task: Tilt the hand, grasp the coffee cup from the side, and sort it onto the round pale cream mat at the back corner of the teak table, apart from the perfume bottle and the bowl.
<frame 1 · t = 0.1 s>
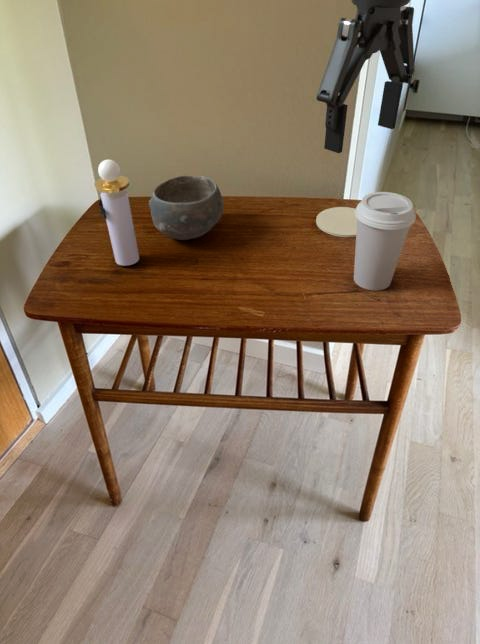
hand: (360, 138, 74), 24 cm above the table, tool pointing down, fingers open, 13 cm apart
coffee cup: (371, 280, 86), on the table
bowl: (189, 234, 100), on the table
perfume bottle: (128, 263, 92), on the table
cream mat: (344, 222, 102), on the table
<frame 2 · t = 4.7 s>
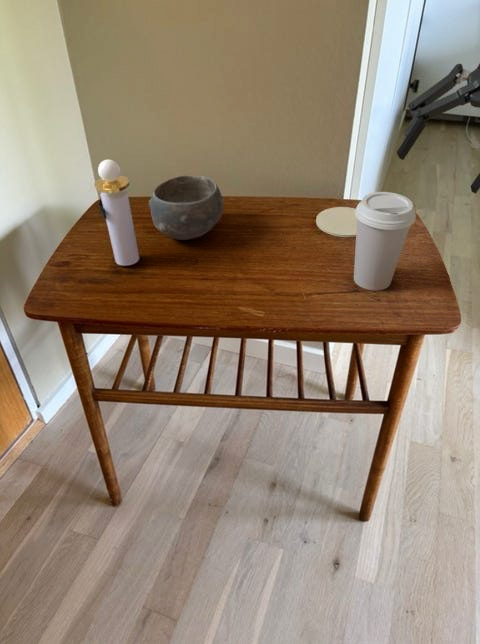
hand: (434, 172, 80), 17 cm above the table, tool tilted 40°, fingers open, 13 cm apart
nothing on the table moved.
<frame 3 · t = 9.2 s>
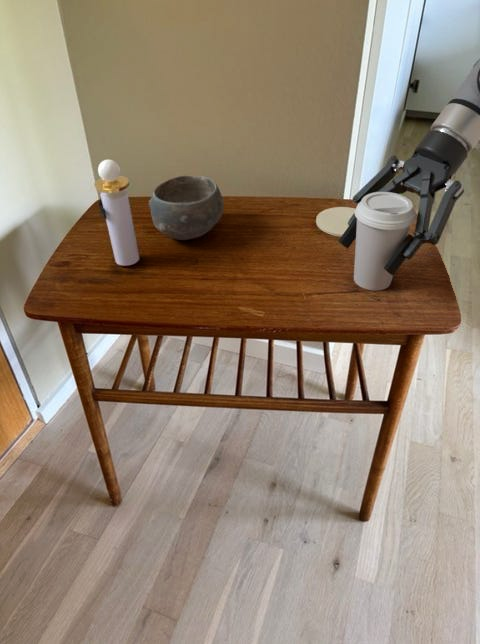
hand: (364, 257, 81), 6 cm above the table, tool tilted 45°, fingers closed on coffee cup, 9 cm apart
coffee cup: (371, 280, 86), on the table, touching gripper
everything else where it was.
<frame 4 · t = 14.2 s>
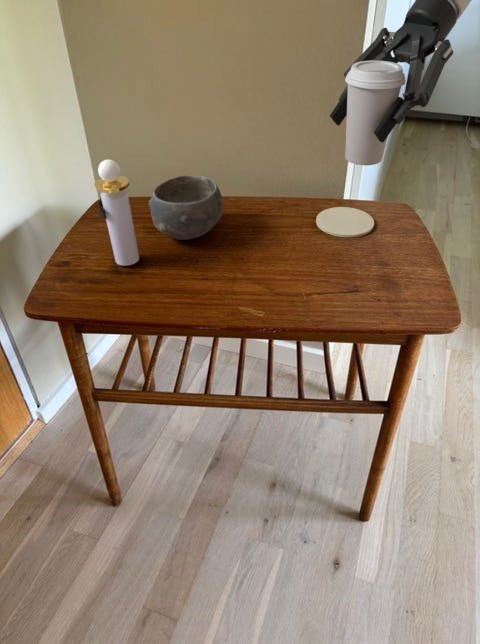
hand: (355, 128, 82), 22 cm above the table, tool tilted 45°, fingers closed on coffee cup, 9 cm apart
coffee cup: (363, 159, 87), point 16 cm above the table, touching gripper
everything else where it was.
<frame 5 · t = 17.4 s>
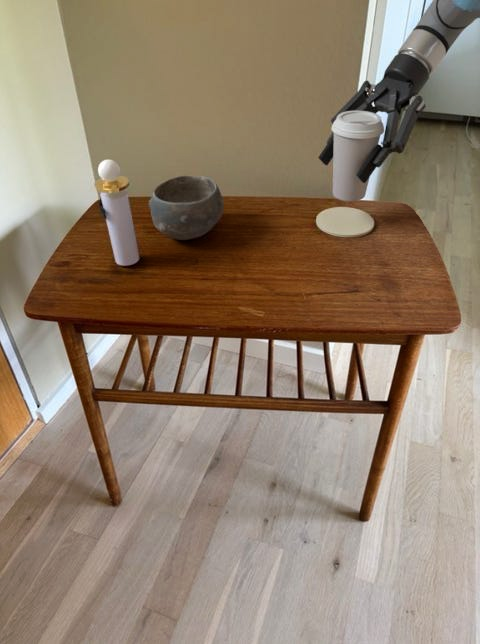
hand: (340, 170, 92), 12 cm above the table, tool tilted 45°, fingers closed on coffee cup, 9 cm apart
coffee cup: (348, 194, 98), point 6 cm above the table, touching gripper
everything else where it was.
when the fingers open (6 cm above the table, at t = 19.6 s): coffee cup stays where it is, resting on cream mat.
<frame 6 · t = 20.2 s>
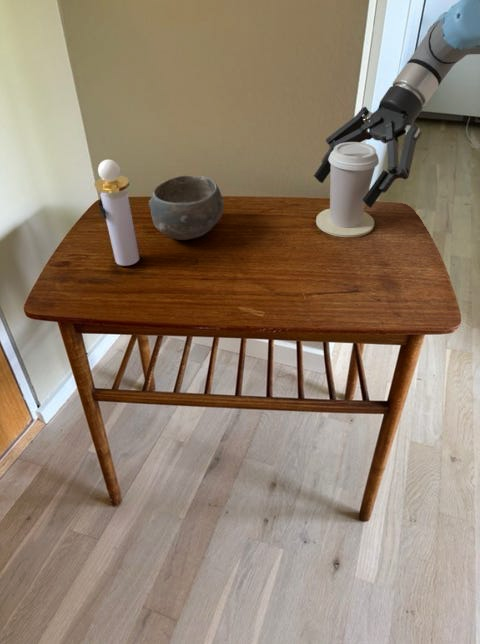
hand: (341, 191, 96), 8 cm above the table, tool tilted 45°, fingers open, 13 cm apart
coffee cup: (345, 221, 102), resting on cream mat
everything else where it was.
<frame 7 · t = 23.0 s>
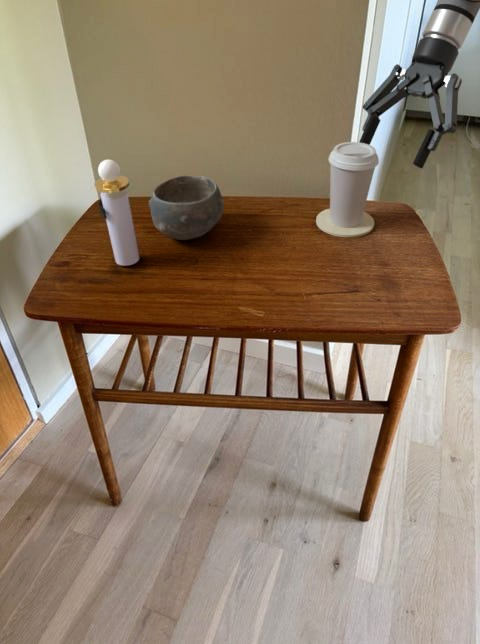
hand: (388, 157, 96), 13 cm above the table, tool tilted 30°, fingers open, 13 cm apart
nothing on the table moved.
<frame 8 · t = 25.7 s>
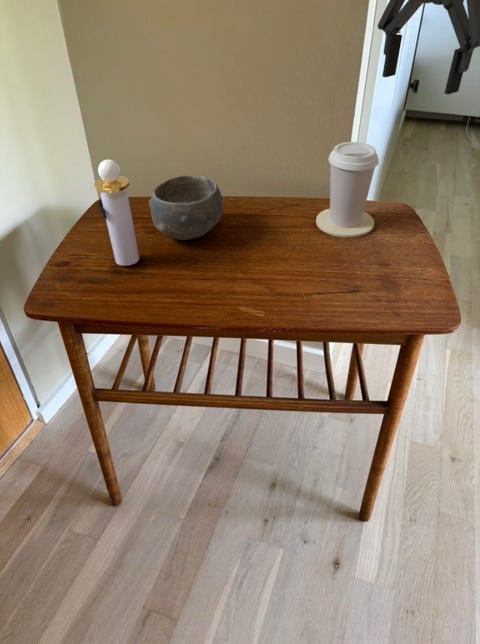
hand: (418, 84, 85), 27 cm above the table, tool pointing down, fingers open, 13 cm apart
nothing on the table moved.
at the end: coffee cup 0.1 cm off-centre on the cream mat, point 0.4 cm above the cream mat's base; coffee cup tilted 0°; the gripper is holding nothing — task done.
